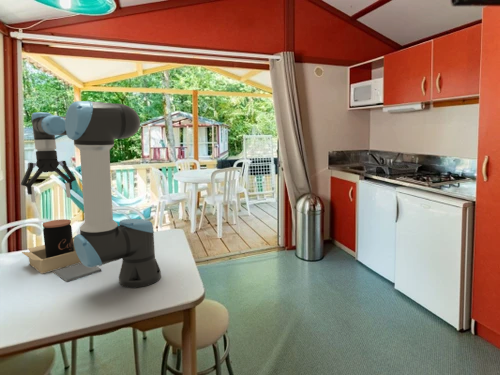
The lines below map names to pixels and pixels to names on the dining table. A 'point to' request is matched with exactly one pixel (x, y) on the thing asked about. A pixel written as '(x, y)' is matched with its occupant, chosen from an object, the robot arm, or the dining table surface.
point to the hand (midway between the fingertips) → (51, 199)
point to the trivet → (76, 272)
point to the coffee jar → (58, 237)
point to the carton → (50, 259)
